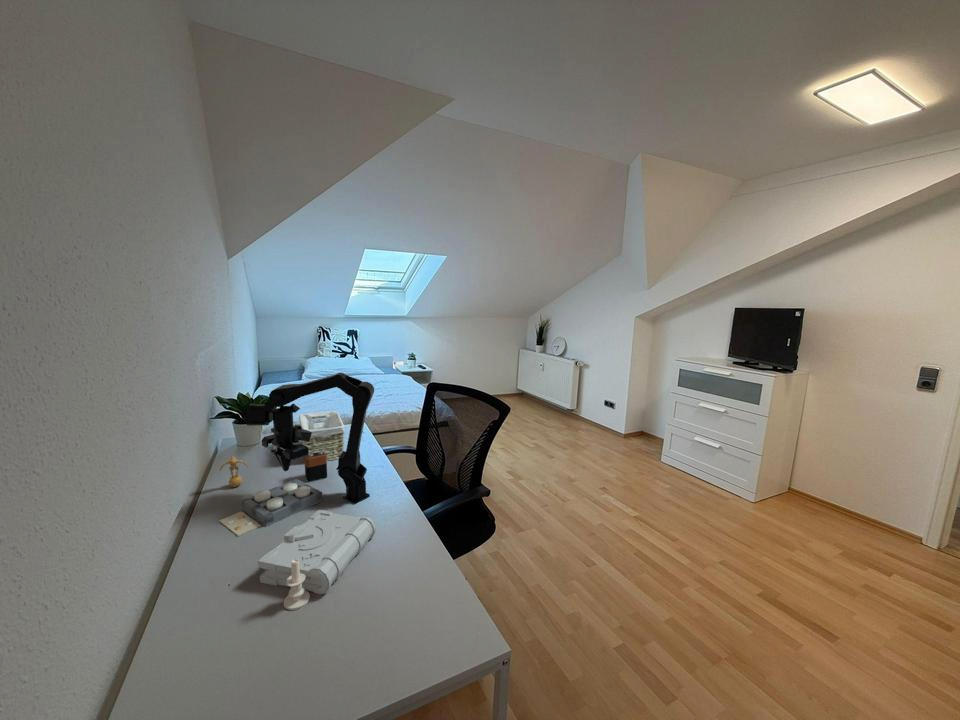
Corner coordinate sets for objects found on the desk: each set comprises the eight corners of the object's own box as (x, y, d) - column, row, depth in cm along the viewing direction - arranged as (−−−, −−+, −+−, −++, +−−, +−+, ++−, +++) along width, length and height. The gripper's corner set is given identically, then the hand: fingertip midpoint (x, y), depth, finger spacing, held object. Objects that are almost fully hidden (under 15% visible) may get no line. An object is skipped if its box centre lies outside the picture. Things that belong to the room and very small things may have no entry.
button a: (313, 494, 125) (312, 488, 124) (300, 500, 121) (299, 494, 121) (305, 490, 127) (305, 484, 127) (292, 495, 123) (292, 490, 123)
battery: (327, 477, 142) (326, 452, 140) (308, 482, 138) (306, 456, 136) (324, 473, 145) (323, 448, 144) (305, 477, 141) (303, 452, 139)
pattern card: (260, 526, 111) (260, 524, 111) (238, 536, 106) (238, 535, 106) (241, 512, 118) (241, 511, 118) (219, 521, 113) (219, 520, 113)
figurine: (250, 481, 137) (247, 449, 135) (249, 489, 132) (246, 456, 130) (222, 486, 133) (219, 453, 131) (220, 494, 128) (217, 460, 126)
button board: (322, 500, 126) (322, 492, 125) (266, 526, 111) (266, 516, 111) (297, 486, 134) (296, 479, 134) (242, 509, 120) (241, 500, 119)
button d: (273, 498, 121) (272, 492, 121) (258, 504, 118) (258, 498, 117) (266, 494, 124) (265, 488, 123) (251, 500, 120) (251, 494, 120)
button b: (300, 491, 129) (300, 485, 129) (287, 496, 125) (287, 490, 125) (293, 487, 131) (292, 481, 131) (280, 492, 128) (280, 486, 127)
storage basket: (346, 459, 158) (345, 425, 155) (303, 466, 150) (301, 431, 148) (338, 440, 179) (337, 409, 176) (299, 445, 171) (298, 413, 169)
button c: (286, 506, 117) (285, 500, 117) (271, 512, 114) (271, 506, 113) (278, 501, 120) (278, 496, 119) (264, 508, 116) (263, 501, 116)
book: (385, 528, 113) (384, 504, 111) (327, 600, 86) (326, 569, 84) (327, 519, 117) (326, 496, 116) (255, 585, 90) (252, 555, 89)
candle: (303, 588, 88) (300, 547, 87) (314, 600, 85) (312, 558, 84) (279, 601, 84) (277, 559, 83) (290, 614, 81) (288, 570, 80)
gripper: (323, 424, 123) (325, 470, 126) (292, 413, 134) (294, 455, 137) (289, 434, 114) (292, 482, 117) (259, 421, 125) (262, 466, 128)
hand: (286, 470), depth 125 cm, fingers closed
